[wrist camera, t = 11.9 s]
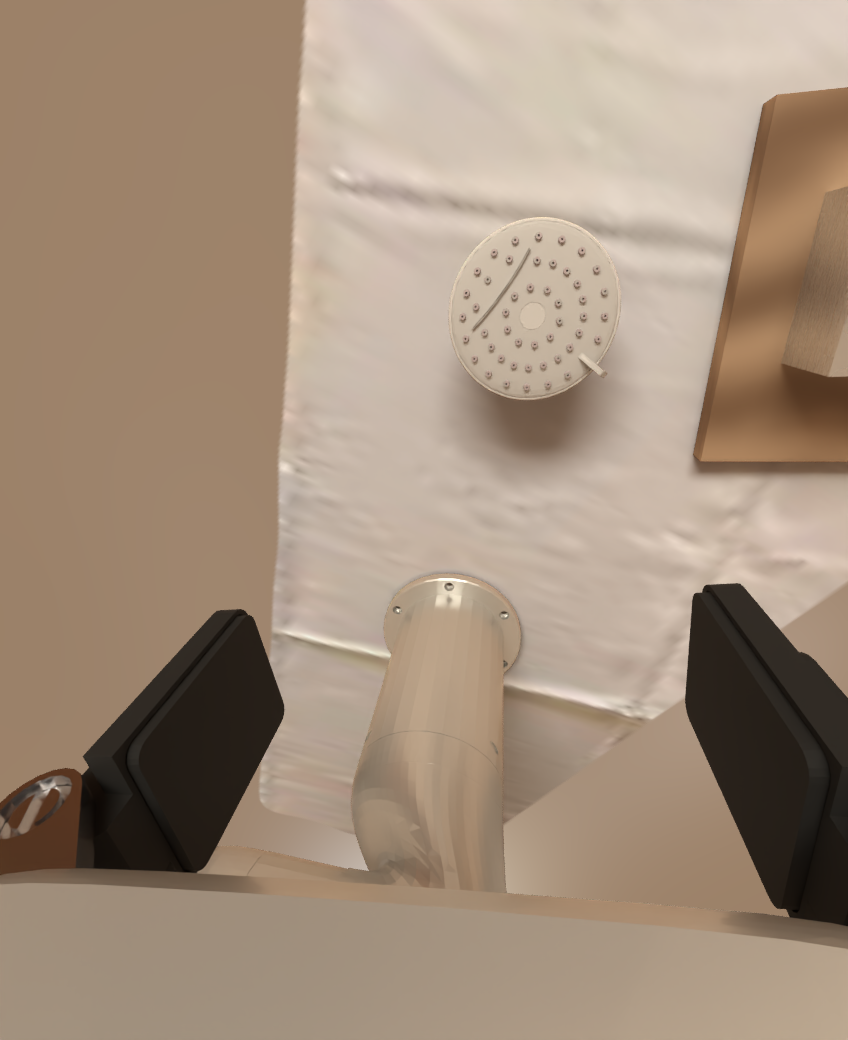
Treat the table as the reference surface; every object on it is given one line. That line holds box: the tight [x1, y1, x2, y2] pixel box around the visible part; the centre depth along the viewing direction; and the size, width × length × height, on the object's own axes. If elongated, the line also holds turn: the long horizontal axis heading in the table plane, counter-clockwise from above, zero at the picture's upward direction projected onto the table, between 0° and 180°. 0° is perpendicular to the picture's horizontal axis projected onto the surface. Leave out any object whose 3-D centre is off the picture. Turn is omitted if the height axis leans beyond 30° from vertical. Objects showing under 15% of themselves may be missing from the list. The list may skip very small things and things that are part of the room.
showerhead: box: [449, 217, 621, 400], centre depth 29 cm, size 9×7×10 cm
